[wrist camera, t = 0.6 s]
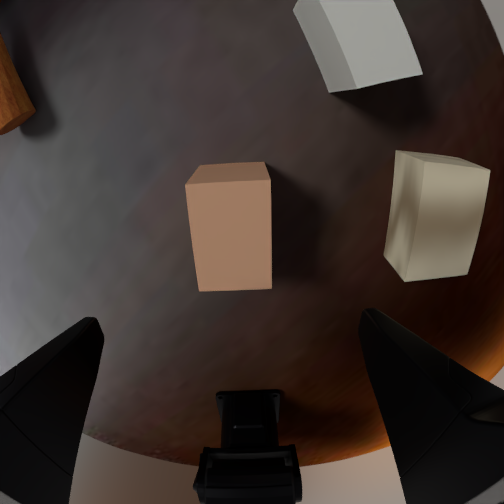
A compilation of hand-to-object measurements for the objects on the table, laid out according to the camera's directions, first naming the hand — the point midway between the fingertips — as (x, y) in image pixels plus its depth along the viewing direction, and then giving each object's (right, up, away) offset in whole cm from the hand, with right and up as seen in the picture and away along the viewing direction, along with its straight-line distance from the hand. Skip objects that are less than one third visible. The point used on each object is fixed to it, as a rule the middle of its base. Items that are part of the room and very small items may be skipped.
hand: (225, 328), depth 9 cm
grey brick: (+6, +15, +5) cm, 17 cm away
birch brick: (+14, +6, +10) cm, 18 cm away
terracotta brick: (0, +5, +10) cm, 12 cm away
